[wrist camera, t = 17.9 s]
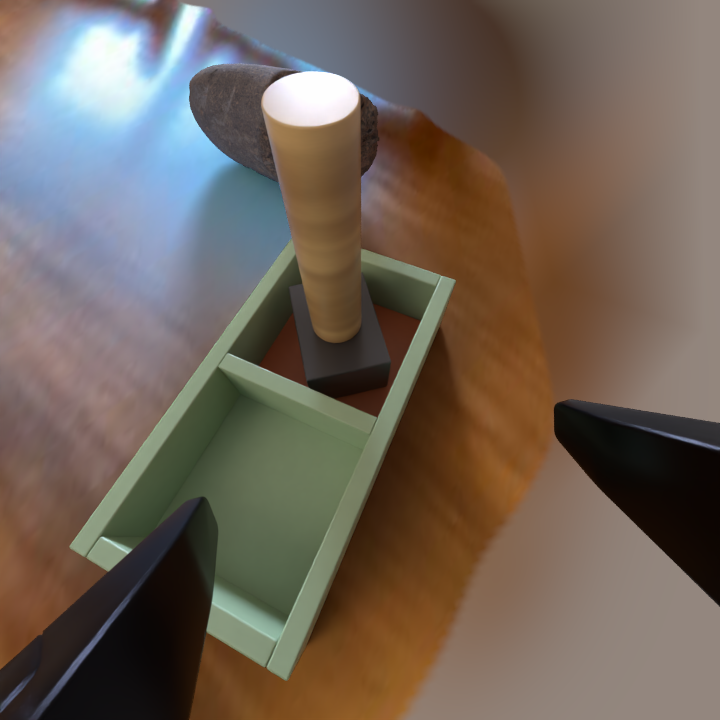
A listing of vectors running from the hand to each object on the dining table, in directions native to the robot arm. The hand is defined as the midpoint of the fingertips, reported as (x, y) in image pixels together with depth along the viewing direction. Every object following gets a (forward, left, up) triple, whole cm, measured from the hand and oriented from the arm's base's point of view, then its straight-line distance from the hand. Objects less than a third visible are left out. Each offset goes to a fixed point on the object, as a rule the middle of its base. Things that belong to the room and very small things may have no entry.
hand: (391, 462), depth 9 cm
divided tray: (+5, +2, -10) cm, 11 cm away
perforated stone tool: (+25, -2, -10) cm, 27 cm away
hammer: (+8, -1, -9) cm, 12 cm away
